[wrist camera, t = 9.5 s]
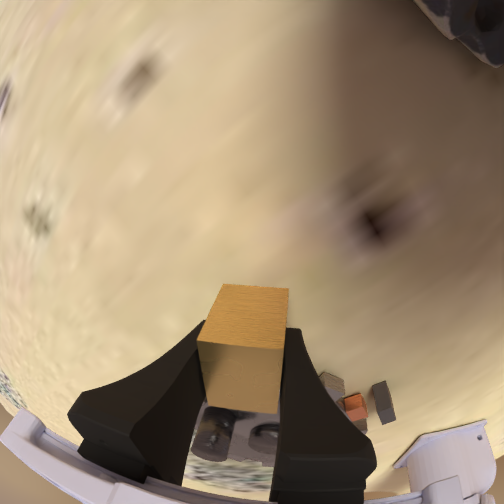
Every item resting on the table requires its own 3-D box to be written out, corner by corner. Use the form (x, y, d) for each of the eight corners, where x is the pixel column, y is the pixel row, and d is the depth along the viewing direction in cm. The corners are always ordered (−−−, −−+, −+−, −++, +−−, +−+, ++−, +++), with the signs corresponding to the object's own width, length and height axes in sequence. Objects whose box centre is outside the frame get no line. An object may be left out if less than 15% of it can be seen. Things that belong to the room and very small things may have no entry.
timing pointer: (377, 399, 17) (382, 424, 15) (372, 385, 17) (377, 412, 14) (390, 394, 17) (396, 420, 15) (385, 380, 16) (391, 407, 14)
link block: (223, 283, 13) (196, 340, 9) (288, 288, 13) (283, 349, 9) (227, 347, 15) (208, 405, 11) (283, 352, 14) (276, 413, 11)
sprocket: (233, 328, 16) (212, 392, 11) (403, 402, 17) (414, 452, 12) (166, 420, 22) (149, 460, 17) (296, 467, 23) (292, 504, 18)
